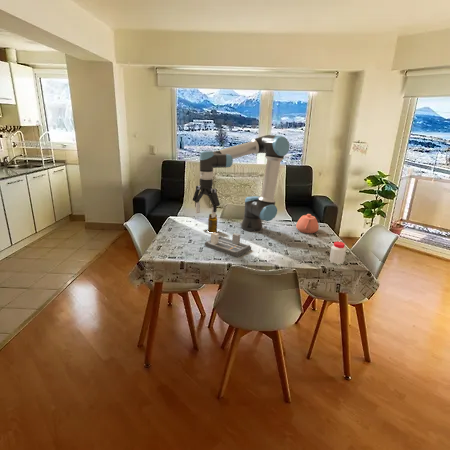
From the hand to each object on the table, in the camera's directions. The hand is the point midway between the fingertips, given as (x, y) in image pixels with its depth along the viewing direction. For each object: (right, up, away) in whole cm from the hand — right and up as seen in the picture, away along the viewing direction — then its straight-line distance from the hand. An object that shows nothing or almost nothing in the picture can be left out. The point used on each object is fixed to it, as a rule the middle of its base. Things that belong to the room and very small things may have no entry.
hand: (205, 215), depth 177 cm
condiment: (+2, -11, +27) cm, 29 cm away
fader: (+5, -17, +1) cm, 18 cm away
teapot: (+70, -11, +35) cm, 79 cm away
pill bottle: (+73, -27, -12) cm, 79 cm away
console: (+13, -20, +1) cm, 24 cm away
